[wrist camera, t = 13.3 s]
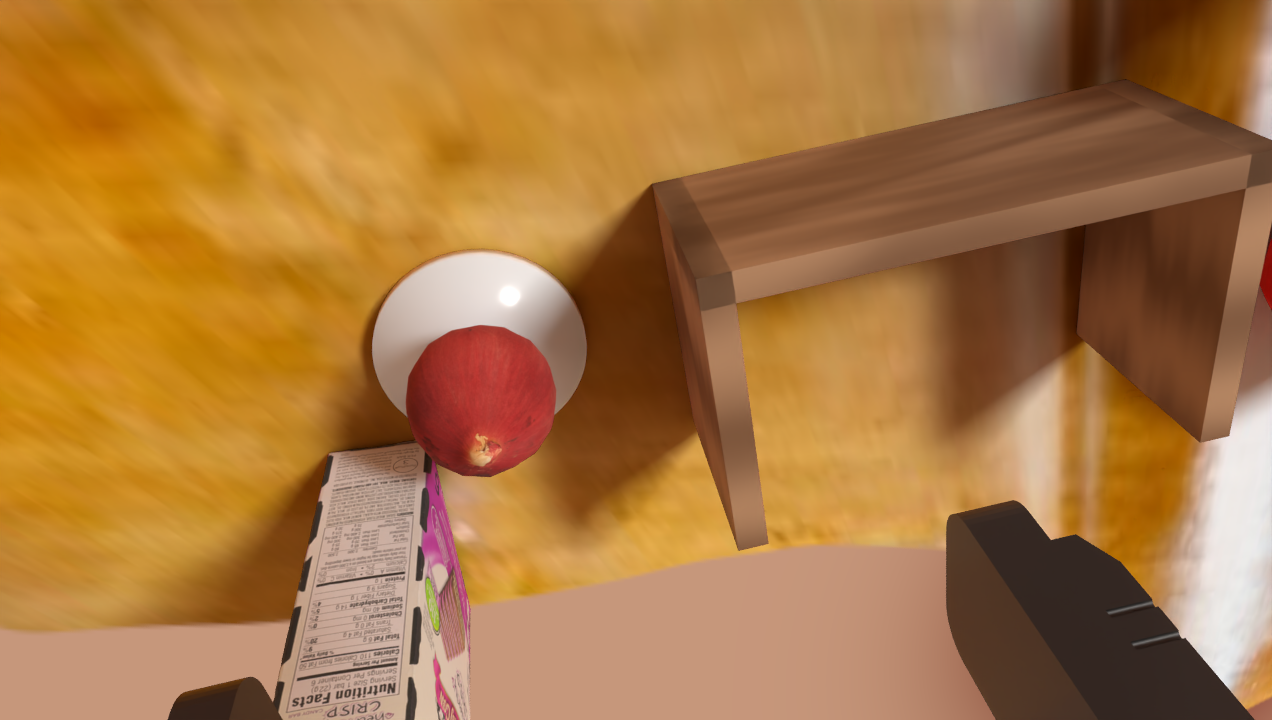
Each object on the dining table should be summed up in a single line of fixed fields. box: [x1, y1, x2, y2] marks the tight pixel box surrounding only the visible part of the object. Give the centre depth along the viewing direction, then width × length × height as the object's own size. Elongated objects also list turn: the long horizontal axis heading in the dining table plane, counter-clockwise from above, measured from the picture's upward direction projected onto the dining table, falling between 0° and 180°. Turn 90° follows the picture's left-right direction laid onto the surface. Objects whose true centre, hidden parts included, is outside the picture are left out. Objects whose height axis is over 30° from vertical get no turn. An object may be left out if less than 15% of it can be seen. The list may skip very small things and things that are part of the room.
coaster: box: [372, 249, 587, 417], centre depth 40 cm, size 9×9×1 cm
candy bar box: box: [273, 441, 470, 720], centre depth 38 cm, size 11×5×16 cm, turn 5°
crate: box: [652, 79, 1272, 551], centre depth 37 cm, size 12×20×9 cm, turn 100°
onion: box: [406, 325, 556, 477], centre depth 36 cm, size 6×6×8 cm
